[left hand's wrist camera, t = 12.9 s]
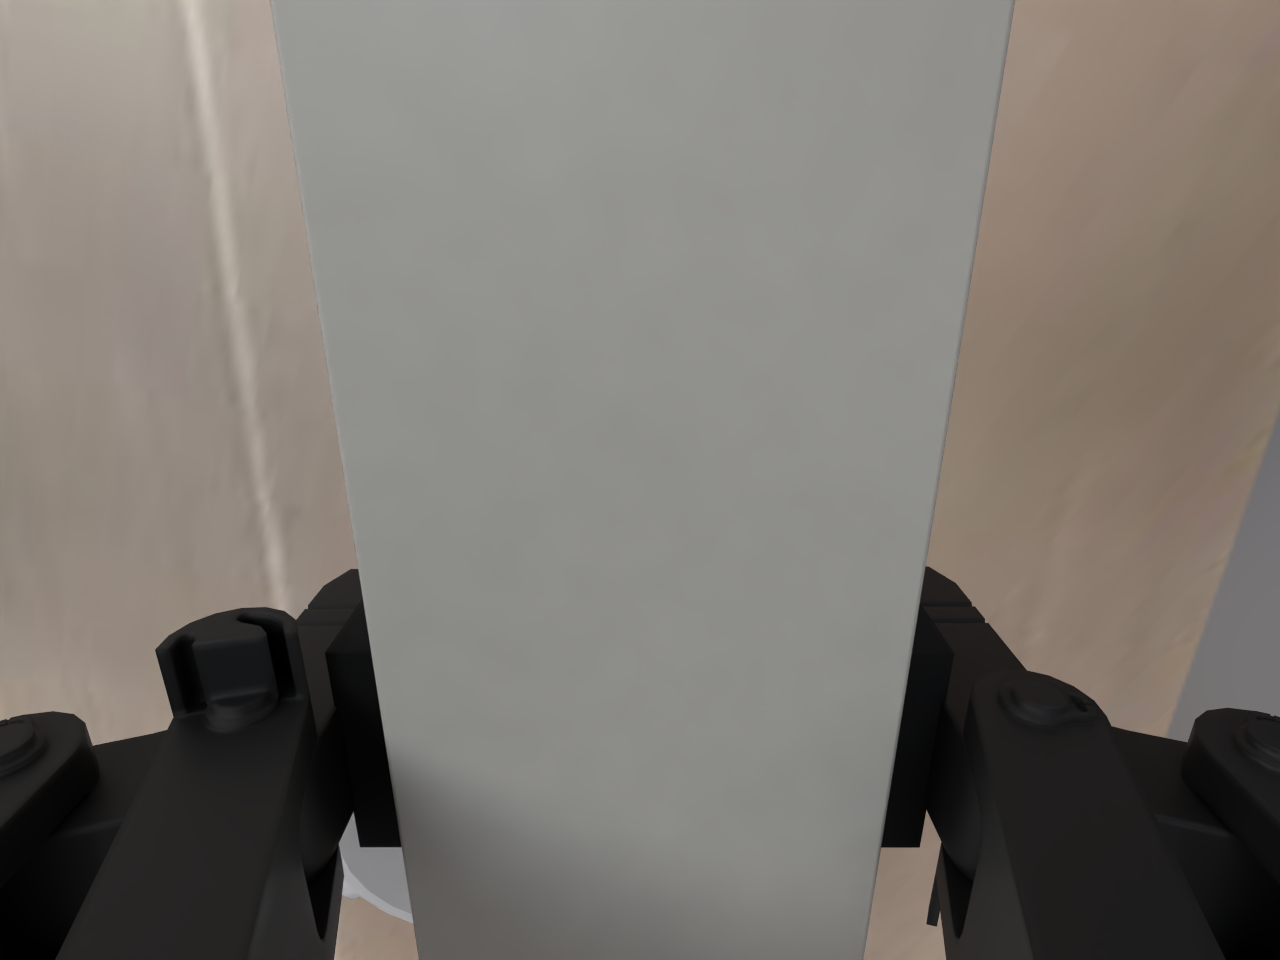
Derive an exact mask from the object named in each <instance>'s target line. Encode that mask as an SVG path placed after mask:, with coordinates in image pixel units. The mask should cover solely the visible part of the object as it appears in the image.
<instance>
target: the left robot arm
mask: <svg viewBox="0 0 1280 960" xmlns="http://www.w3.org/2000/svg"><path fill="white" fill-rule="evenodd" d="M155 651H156V655H157V658H158V662H159V666H160V669H161V673H162V677H163V680H164V684H165V687H166V691H167V695H168V698H169V702H170V705H171V709H172V713H173V716H174V718H173V720H172V722H171V724H170V726H169V728H168V730H165V731H161V732H157V733H154V734H149V735H144V736H139V737H134V738H129V739H124V740H119V741H114V742H109V743H104V744H99V745H94V746H93V745H92V742H91V739H90V736H89V733H88V730H87V727H86V724H85V722H83V721H82V720H81V719H79V718H78V717H77V716H75V715H74V714H69V713H61V712H54V711H52V712H44V713H36V714H27V715H21V716H17V717H12V718H10V719H9V720H7V719H5V720H2V721H0V960H334V954H335V946H336V938H337V930H338V922H339V914H340V906H341V898H342V890H343V882H344V871H343V864H342V858H341V853H340V847H339V842H340V840H341V838H342V835H343V833H344V831H345V829H346V827H347V825H348V823H349V820H350V818H351V816H352V814H353V812H354V817H355V823H356V829H357V834H358V840H359V845H360V847H401V840H400V834H399V828H398V821H397V815H396V808H395V802H394V795H393V789H392V783H391V776H390V770H389V763H388V757H387V750H386V744H385V738H384V731H383V725H382V718H381V712H380V705H379V699H378V693H377V686H376V680H375V673H374V667H373V660H372V654H371V648H370V641H369V635H368V628H367V622H366V615H365V609H364V603H363V596H362V590H361V583H360V577H359V570H358V569H350V570H349V571H347V572H345V573H344V574H342V575H341V576H339V577H337V578H336V579H334V580H333V581H331V582H329V583H328V584H326V585H324V586H323V588H322V589H321V590H320V591H319V593H318V594H317V595H316V596H315V597H314V599H313V600H312V601H311V602H310V604H309V605H308V609H305V610H304V611H303V612H302V614H301V615H300V616H299V617H298V619H297V620H295V619H294V618H293V617H292V616H290V615H289V614H288V613H286V612H285V611H281V610H276V609H272V608H267V607H259V608H240V609H235V610H230V611H225V612H220V613H216V614H213V615H210V616H208V617H205V618H202V619H200V620H197V621H194V622H191V623H189V624H188V625H186V626H184V627H183V628H181V629H179V630H177V631H176V632H174V633H172V634H171V635H169V636H168V637H167V638H166V639H165V640H164V641H163V642H162V643H161V644H160V645H159V646H158V647H157V648H156V650H155ZM926 809H927V811H928V814H929V816H930V818H931V820H932V822H933V824H934V826H935V829H936V831H937V833H938V835H939V837H940V839H941V841H942V842H941V847H940V853H939V858H938V863H937V868H936V873H935V878H934V884H933V889H932V894H931V899H930V904H929V910H928V917H927V924H928V925H932V926H937V923H938V918H939V913H940V912H941V920H942V928H943V936H944V944H945V952H946V960H1280V717H1277V716H1274V717H1273V716H1270V714H1267V713H1262V712H1258V711H1249V710H1241V709H1233V708H1223V709H1216V710H1208V711H1206V712H1204V713H1203V714H1202V715H1200V716H1199V717H1198V718H1196V719H1195V722H1194V725H1193V728H1192V731H1191V734H1190V737H1189V740H1188V743H1187V742H1182V741H1177V740H1173V739H1168V738H1163V737H1158V736H1153V735H1148V734H1143V733H1138V732H1133V731H1128V730H1124V729H1120V728H1116V727H1112V726H1111V724H1110V722H1109V720H1108V718H1107V716H1106V715H1105V714H1104V712H1103V711H1102V710H1101V709H1100V707H1099V706H1098V705H1097V704H1096V702H1095V701H1094V700H1093V699H1091V698H1090V697H1088V696H1087V695H1085V694H1084V693H1083V692H1081V691H1080V690H1078V689H1077V688H1075V687H1074V686H1072V685H1069V684H1067V683H1065V682H1062V681H1060V680H1058V679H1056V678H1053V677H1051V676H1048V675H1044V674H1039V673H1035V672H1031V671H1027V670H1026V669H1025V668H1024V666H1023V665H1022V664H1021V663H1020V661H1019V660H1018V659H1017V658H1016V657H1015V655H1014V654H1013V653H1012V652H1011V650H1010V649H1009V648H1008V647H1007V645H1006V644H1005V643H1004V642H1003V641H1002V639H1001V638H1000V637H999V636H998V634H997V633H996V632H995V631H994V630H993V628H992V627H991V626H990V625H989V623H985V618H984V617H983V616H982V615H981V614H980V612H979V611H978V610H977V609H976V607H972V603H971V601H970V600H969V599H968V598H967V596H966V595H965V594H964V593H963V591H962V590H961V589H960V588H959V587H958V585H957V584H956V583H955V582H953V581H951V580H950V579H948V578H946V577H945V576H943V575H941V574H940V573H938V572H937V571H935V570H933V569H932V568H930V567H925V572H924V579H923V585H922V591H921V598H920V604H919V610H918V616H917V623H916V629H915V635H914V642H913V648H912V654H911V661H910V667H909V673H908V680H907V686H906V692H905V699H904V705H903V711H902V717H901V724H900V730H899V736H898V743H897V749H896V755H895V762H894V768H893V774H892V781H891V787H890V793H889V800H888V806H887V812H886V819H885V825H884V831H883V837H882V844H881V847H920V842H921V837H922V831H923V825H924V820H925V814H926Z"/></svg>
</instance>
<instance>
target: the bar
mask: <svg viewBox="0 0 1280 960" xmlns="http://www.w3.org/2000/svg"><path fill="white" fill-rule="evenodd" d="M1014 4H1015V0H270V5H271V11H272V17H273V24H274V30H275V37H276V43H277V50H278V56H279V62H280V69H281V75H282V82H283V88H284V95H285V101H286V107H287V114H288V120H289V127H290V133H291V140H292V146H293V152H294V159H295V165H296V172H297V178H298V185H299V191H300V197H301V204H302V210H303V217H304V223H305V230H306V236H307V242H308V249H309V255H310V262H311V268H312V275H313V281H314V287H315V294H316V300H317V307H318V313H319V320H320V326H321V332H322V339H323V345H324V352H325V358H326V365H327V371H328V377H329V384H330V390H331V397H332V403H333V410H334V416H335V423H336V429H337V435H338V442H339V448H340V455H341V461H342V468H343V474H344V480H345V487H346V493H347V500H348V506H349V513H350V519H351V525H352V532H353V538H354V545H355V551H356V558H357V564H358V570H359V577H360V583H361V590H362V596H363V603H364V609H365V615H366V622H367V628H368V635H369V641H370V648H371V654H372V660H373V667H374V673H375V680H376V686H377V693H378V699H379V705H380V712H381V718H382V725H383V731H384V738H385V744H386V750H387V757H388V763H389V770H390V776H391V783H392V789H393V795H394V802H395V808H396V815H397V821H398V828H399V834H400V840H401V847H402V853H403V860H404V866H405V873H406V879H407V885H408V892H409V898H410V905H411V911H412V918H413V924H414V930H415V937H416V943H417V950H418V956H419V960H863V957H864V951H865V945H866V938H867V932H868V926H869V920H870V913H871V907H872V901H873V894H874V888H875V882H876V875H877V869H878V863H879V856H880V850H881V844H882V837H883V831H884V825H885V819H886V812H887V806H888V800H889V793H890V787H891V781H892V774H893V768H894V762H895V755H896V749H897V743H898V736H899V730H900V724H901V717H902V711H903V705H904V699H905V692H906V686H907V680H908V673H909V667H910V661H911V654H912V648H913V642H914V635H915V629H916V623H917V616H918V610H919V604H920V598H921V591H922V585H923V579H924V572H925V566H926V560H927V553H928V547H929V541H930V534H931V528H932V522H933V515H934V509H935V503H936V496H937V490H938V484H939V478H940V471H941V465H942V459H943V452H944V446H945V440H946V433H947V427H948V421H949V414H950V408H951V402H952V395H953V389H954V383H955V377H956V370H957V364H958V358H959V351H960V345H961V339H962V332H963V326H964V320H965V313H966V307H967V301H968V294H969V288H970V282H971V276H972V269H973V263H974V257H975V250H976V244H977V238H978V231H979V225H980V219H981V212H982V206H983V200H984V193H985V187H986V181H987V174H988V168H989V162H990V156H991V149H992V143H993V137H994V130H995V124H996V118H997V111H998V105H999V99H1000V92H1001V86H1002V80H1003V73H1004V67H1005V61H1006V55H1007V48H1008V42H1009V36H1010V29H1011V23H1012V17H1013V10H1014Z"/></svg>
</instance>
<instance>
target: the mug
mask: <svg viewBox="0 0 1280 960" xmlns="http://www.w3.org/2000/svg"><path fill="white" fill-rule="evenodd" d="M339 847H340V853H341V858H342V864H343V871H344V882H343V890H342V895H343V896H345V897H347V898H350V899H355V898H359V897H362V898H364V899H365V900H367V901H369V902H370V903H372V904H373V905H375V906H376V907H378V908H379V909H381V910H382V911H384V912H385V913H388V914H390V915H393V916H395V917H398V918H400V919H403V920H405V921H408V922H410V923H413V918H412V911H411V905H410V898H409V892H408V885H407V879H406V873H405V866H404V860H403V853H402V847H360V845H359V840H358V834H357V829H356V823H355V817H354V812H353V814H352V816H351V818H350V820H349V823H348V825H347V827H346V829H345V831H344V833H343V835H342V838H341V840H340V842H339Z"/></svg>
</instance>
